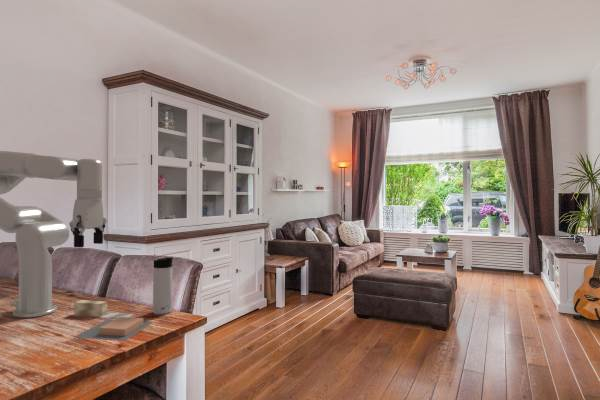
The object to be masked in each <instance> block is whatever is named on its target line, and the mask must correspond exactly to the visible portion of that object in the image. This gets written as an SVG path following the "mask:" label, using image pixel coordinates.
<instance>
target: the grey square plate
mask: <svg viewBox="0 0 600 400" xmlns="http://www.w3.org/2000/svg"><path fill="white" fill-rule="evenodd" d="M113 320H114V319H111V318H107V319H106V320H104V321H101V322H100V323H98V324H96V325H94V326H92V327H90V328H88V329H86V330H85V331H83V332H80V333H79V334H76V335H74V336H73V338H75V339H76V338H78V339H92V340H105V341H107V340H108V341H109V340H110V341H122V342H124V341H127V340H128V339H130V338H132V337H134V336H135V335H136V334H138V333H140V332H141V331H143V330H144V329H145V328H148V327H149V326H150V325H152V324H153V323H154V321H144V320H143V325H142V326H140V327H139V328H137V329H136V330H134V331H132V332H131V333H129V334H128V335H126V336H115V335H100V327H102V326H104V325H106V324H108V323H109V322H111V321H113Z"/></svg>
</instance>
